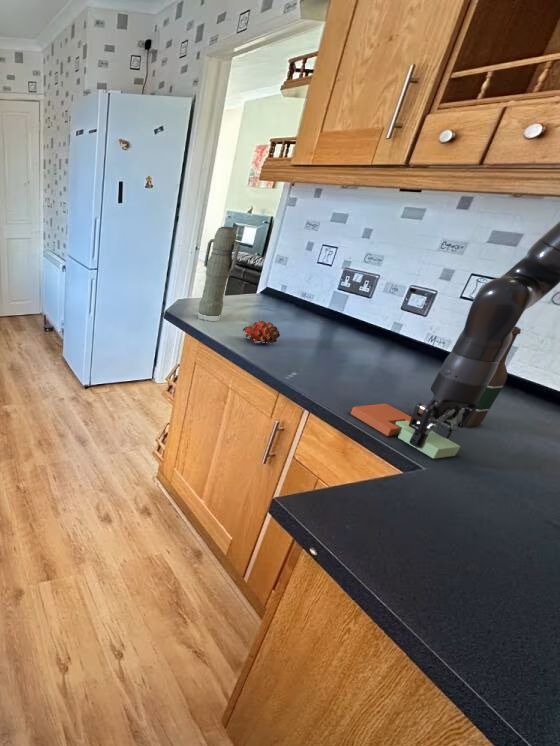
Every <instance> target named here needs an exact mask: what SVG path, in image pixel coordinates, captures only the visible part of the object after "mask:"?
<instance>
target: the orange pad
mask: <svg viewBox="0 0 560 746" xmlns="http://www.w3.org/2000/svg"><path fill="white" fill-rule="evenodd" d="M350 415H352V416H353V417H355V418H357V419H358V420H360V421H362V422H363V423H365V424H367V425H368V426H370V427H372V428H373V429H375V430H376V431H378V432H380V433H381V434H382V435H385V436H386V437H392V436H397V435H398V434H397V432H398V430H399V427H397V426H396V425H395V424H396V422H397V421H406V420H407V421H409V422H410V420H411V418H412V416H410V415H409V414H406V413H405V412H403V411H401V410H399V409H398V408H396V407H393V406H391V405H390V404H389V403H378V404H377V403H375V404H368V405H357V406H352V409H351V411H350ZM417 423H418V421H417Z"/></svg>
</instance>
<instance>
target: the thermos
mask: <svg viewBox="0 0 560 746" xmlns="http://www.w3.org/2000/svg"><path fill="white" fill-rule="evenodd" d="M236 240H237V230H236V228H235V227H233V226H220V227H218V229H217V230H216V232H215V234H214V238H211V239H210V240H209V241H208V242H207V247H206V251H205V257H204V263H203V266H204V267H205V269H206V270H205V281H204V286H203V290H202V291H203V292H202V297H201V299H200V300H199V305H198V308H197V312H199V313H200V314H202V315H206V316H219V315H220V316H221V314H222V312H223V307H224V296H225V292H226V286H227V282H228V279H229V277H230V275H231V272H232V271H233V270H235V268H236V265H237V261H238V257H239V253H240V249H241V245H240V242H237V241H236ZM211 249H212V251H211ZM233 251H234V252H233ZM203 321H204V322H206V321H205V320H203Z"/></svg>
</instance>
